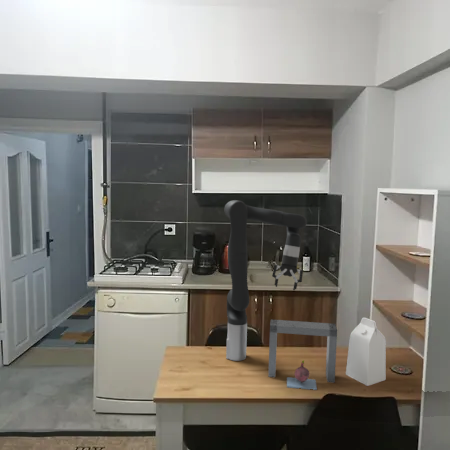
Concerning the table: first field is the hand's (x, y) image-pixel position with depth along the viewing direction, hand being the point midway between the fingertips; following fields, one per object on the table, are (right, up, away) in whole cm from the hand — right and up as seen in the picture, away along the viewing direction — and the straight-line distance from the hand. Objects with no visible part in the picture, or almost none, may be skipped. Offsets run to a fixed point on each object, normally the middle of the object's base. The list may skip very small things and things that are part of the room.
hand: (285, 288), depth 203 cm
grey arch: (+4, -35, -19) cm, 40 cm away
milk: (+32, -36, -19) cm, 52 cm away
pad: (+3, -36, -27) cm, 45 cm away
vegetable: (+3, -36, -27) cm, 45 cm away
